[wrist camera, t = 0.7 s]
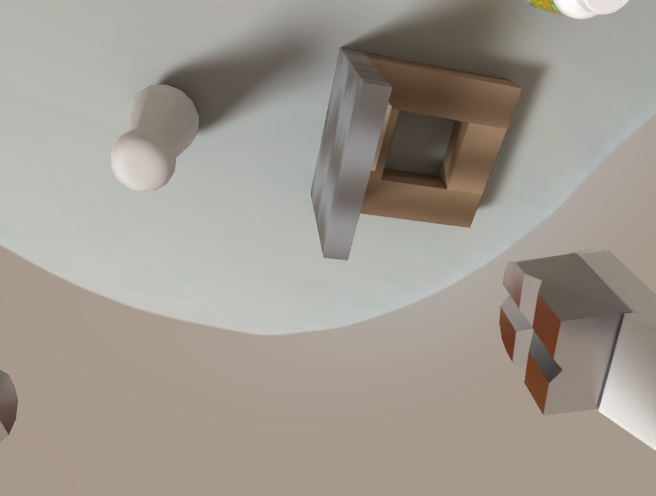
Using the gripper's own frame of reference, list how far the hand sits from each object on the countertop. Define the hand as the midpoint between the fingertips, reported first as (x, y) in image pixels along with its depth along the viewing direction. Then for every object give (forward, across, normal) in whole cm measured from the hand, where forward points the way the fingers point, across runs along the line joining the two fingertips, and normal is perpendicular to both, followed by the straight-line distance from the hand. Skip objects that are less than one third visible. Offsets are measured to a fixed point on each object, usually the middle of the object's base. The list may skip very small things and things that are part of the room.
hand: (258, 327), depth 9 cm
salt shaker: (+42, +9, +8) cm, 43 cm away
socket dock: (+41, -13, +14) cm, 46 cm away
